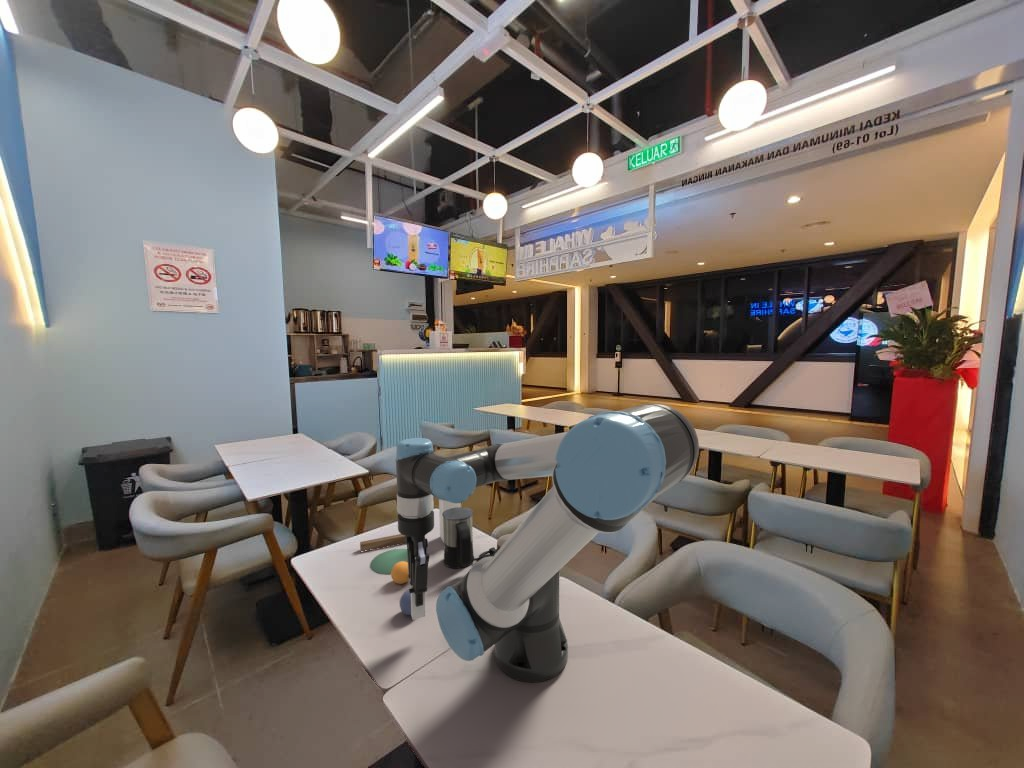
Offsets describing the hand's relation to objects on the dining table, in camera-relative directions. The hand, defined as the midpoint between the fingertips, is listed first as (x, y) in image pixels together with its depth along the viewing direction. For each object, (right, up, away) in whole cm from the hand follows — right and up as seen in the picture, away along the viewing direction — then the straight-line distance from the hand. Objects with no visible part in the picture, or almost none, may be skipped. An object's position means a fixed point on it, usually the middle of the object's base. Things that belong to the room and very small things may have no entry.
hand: (418, 615), depth 86 cm
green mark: (-15, -3, +32) cm, 35 cm away
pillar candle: (+21, -4, +16) cm, 27 cm away
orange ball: (-10, -1, +21) cm, 23 cm away
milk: (0, -1, +46) cm, 46 cm away
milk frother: (+9, -3, +33) cm, 34 cm away
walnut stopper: (-19, -2, +42) cm, 46 cm away
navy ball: (-4, -2, +8) cm, 9 cm away
